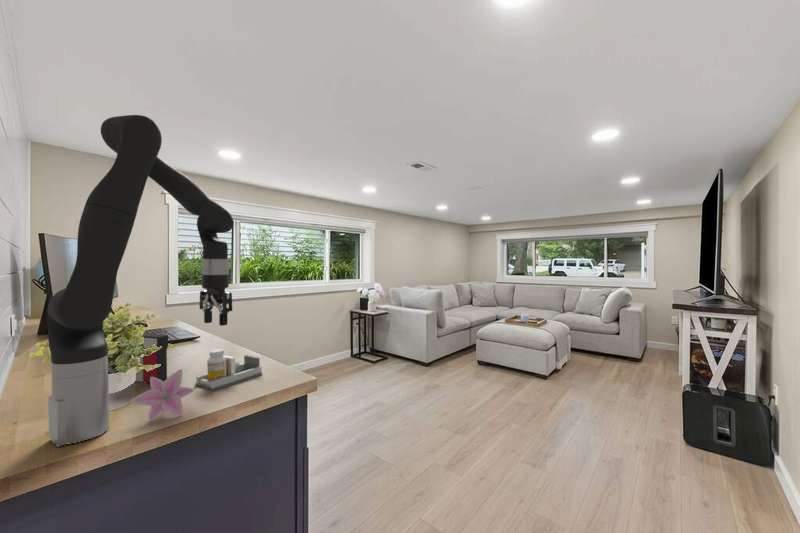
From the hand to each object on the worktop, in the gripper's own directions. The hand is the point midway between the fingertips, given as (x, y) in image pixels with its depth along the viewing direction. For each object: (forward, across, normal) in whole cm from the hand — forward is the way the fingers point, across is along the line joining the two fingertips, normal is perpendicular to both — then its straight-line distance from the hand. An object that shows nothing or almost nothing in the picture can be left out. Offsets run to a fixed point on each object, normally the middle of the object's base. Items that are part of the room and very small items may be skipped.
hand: (215, 324), depth 108 cm
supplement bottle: (+18, -1, 0) cm, 18 cm away
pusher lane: (+19, -1, -4) cm, 19 cm away
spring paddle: (+18, -1, -5) cm, 19 cm away
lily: (+19, -10, +19) cm, 29 cm away
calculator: (+19, +20, +10) cm, 30 cm away
